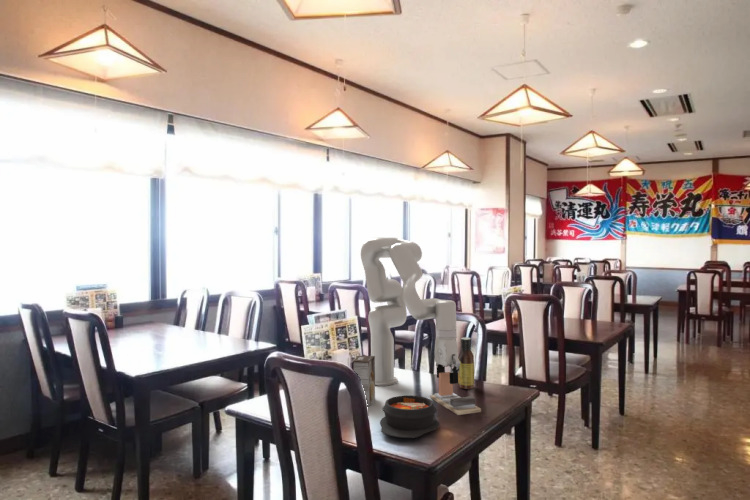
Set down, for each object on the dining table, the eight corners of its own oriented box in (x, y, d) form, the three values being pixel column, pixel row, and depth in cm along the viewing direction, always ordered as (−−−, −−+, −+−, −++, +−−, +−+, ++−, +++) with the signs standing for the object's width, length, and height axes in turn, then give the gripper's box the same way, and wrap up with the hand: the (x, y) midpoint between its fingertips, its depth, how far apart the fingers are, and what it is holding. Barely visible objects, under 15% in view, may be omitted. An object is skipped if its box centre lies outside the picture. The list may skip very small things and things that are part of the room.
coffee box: (358, 397, 191) (358, 354, 191) (375, 398, 190) (375, 355, 190) (352, 405, 182) (352, 360, 182) (370, 406, 181) (370, 361, 181)
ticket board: (430, 398, 190) (430, 387, 190) (451, 395, 193) (451, 385, 193) (458, 415, 172) (458, 403, 171) (481, 411, 175) (481, 400, 175)
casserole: (393, 412, 175) (393, 388, 174) (447, 419, 168) (447, 393, 168) (367, 439, 151) (367, 411, 151) (428, 448, 145) (428, 418, 144)
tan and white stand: (434, 395, 190) (434, 372, 189) (450, 393, 192) (450, 370, 192) (440, 399, 185) (440, 375, 185) (457, 397, 187) (457, 373, 187)
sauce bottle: (462, 384, 208) (462, 335, 208) (476, 386, 205) (476, 337, 204) (455, 388, 203) (455, 338, 203) (469, 390, 199) (469, 340, 199)
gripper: (426, 331, 195) (427, 376, 195) (448, 338, 179) (449, 387, 179) (443, 329, 197) (444, 374, 197) (467, 336, 181) (468, 384, 181)
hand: (447, 380), depth 188 cm, fingers open, 9 cm apart
